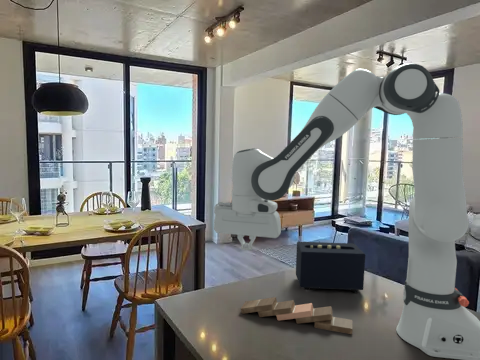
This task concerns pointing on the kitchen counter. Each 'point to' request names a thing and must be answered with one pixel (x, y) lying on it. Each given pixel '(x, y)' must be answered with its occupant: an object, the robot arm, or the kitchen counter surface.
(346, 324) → the domino
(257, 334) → the kitchen counter surface
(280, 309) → the domino
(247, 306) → the domino
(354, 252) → the speaker
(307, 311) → the domino
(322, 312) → the domino
